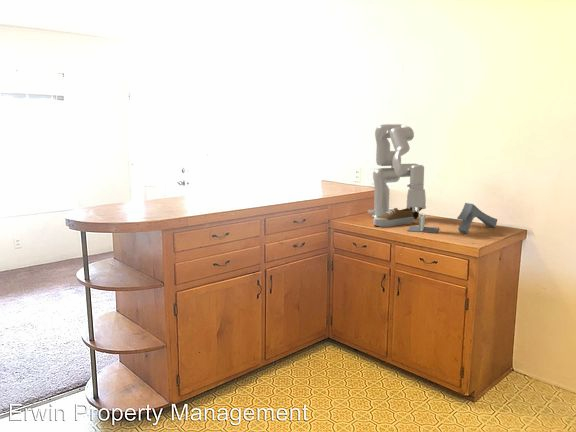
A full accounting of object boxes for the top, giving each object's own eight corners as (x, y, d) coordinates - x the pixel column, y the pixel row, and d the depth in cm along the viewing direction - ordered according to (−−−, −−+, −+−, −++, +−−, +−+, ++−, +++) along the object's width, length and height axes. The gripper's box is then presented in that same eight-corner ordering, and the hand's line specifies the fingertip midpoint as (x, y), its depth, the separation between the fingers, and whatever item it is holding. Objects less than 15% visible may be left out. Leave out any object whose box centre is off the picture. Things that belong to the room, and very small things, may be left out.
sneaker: (368, 225, 296) (369, 209, 294) (407, 220, 307) (408, 204, 306) (378, 228, 287) (378, 211, 285) (418, 223, 298) (418, 207, 297)
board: (418, 231, 275) (419, 217, 273) (421, 226, 286) (421, 213, 284) (422, 231, 274) (422, 217, 273) (424, 226, 285) (424, 213, 284)
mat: (407, 231, 277) (407, 230, 277) (410, 226, 289) (410, 225, 289) (437, 232, 271) (437, 232, 271) (438, 228, 283) (438, 227, 283)
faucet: (479, 244, 286) (452, 228, 268) (488, 217, 287) (461, 200, 269) (489, 246, 281) (462, 230, 263) (498, 218, 282) (471, 201, 264)
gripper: (402, 187, 276) (401, 219, 279) (429, 188, 271) (428, 220, 274) (404, 185, 283) (403, 216, 286) (431, 186, 278) (429, 218, 281)
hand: (415, 218), depth 280 cm, fingers closed
